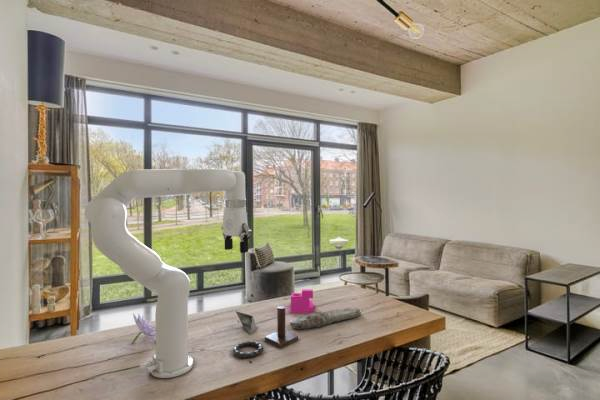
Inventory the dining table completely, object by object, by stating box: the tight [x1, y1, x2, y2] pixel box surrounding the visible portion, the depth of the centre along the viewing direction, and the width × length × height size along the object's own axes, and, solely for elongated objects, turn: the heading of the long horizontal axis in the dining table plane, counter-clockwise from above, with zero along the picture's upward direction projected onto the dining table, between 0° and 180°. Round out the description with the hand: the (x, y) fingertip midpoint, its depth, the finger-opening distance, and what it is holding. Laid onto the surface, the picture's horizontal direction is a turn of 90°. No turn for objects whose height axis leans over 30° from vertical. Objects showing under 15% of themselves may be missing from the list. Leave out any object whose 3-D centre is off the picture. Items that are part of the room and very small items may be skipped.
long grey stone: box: [289, 307, 362, 330], centre depth 138 cm, size 35×5×10 cm
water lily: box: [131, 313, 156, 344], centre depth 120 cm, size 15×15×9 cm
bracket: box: [290, 288, 314, 314], centre depth 155 cm, size 12×10×10 cm
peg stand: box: [264, 305, 299, 349], centre depth 121 cm, size 9×9×12 cm
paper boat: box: [235, 311, 257, 335], centre depth 131 cm, size 12×6×9 cm
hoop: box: [232, 340, 264, 359], centre depth 112 cm, size 10×10×2 cm
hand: (236, 250), depth 118 cm, fingers open, 9 cm apart
